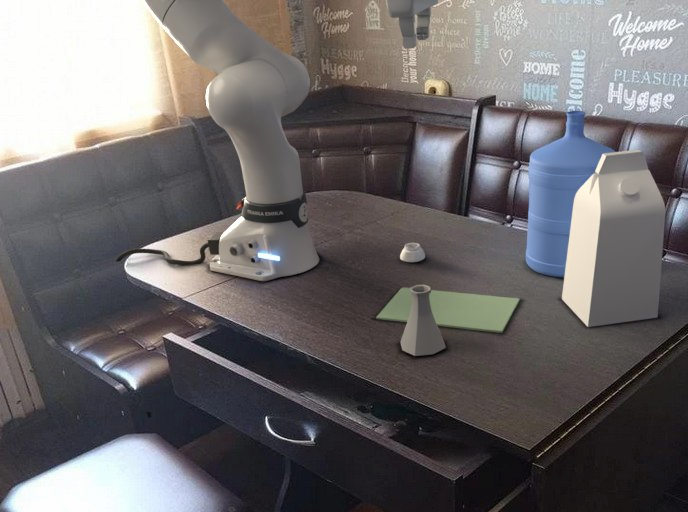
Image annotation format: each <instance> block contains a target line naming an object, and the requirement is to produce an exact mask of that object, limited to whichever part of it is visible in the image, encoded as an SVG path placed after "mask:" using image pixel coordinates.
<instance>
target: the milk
mask: <svg viewBox="0 0 688 512" xmlns="http://www.w3.org/2000/svg"><path fill="white" fill-rule="evenodd" d="M663 198H664V197H663V195H662V194H661V192H660V189H659V187H658V186H657V182H656V181H655V179H654V177H653V174H652V173H651V171H650V169H649V165H648V162H647V160H646V157H645V154H644V151H642V150H640V149H633V150H632V149H631V150H623V151H615V152H612V153H603V154H602V156H601V159H600V161H599V163H598V165H597V168H596V170H595V173H594V174H593V175H592V176H591V177H590V178H589V179H588V180H587V181H586V182H585V183H584V184H583V185H582V187H581V188H580V189H579V190H578V191H577V193H576V195H575V198H574V204H573V212H572V220H571V228H570V236H569V244H568V252H567V260H566V268H565V276H564V278H563V285H562V294H561V300H562V301H563V302H564V303H565V304H566V305H567V306H568V307H569V309H570V310H571V311H572V312H573V313H574V314H575V315H576V316H577V317H578V318H579V319H580V321H581V322H582V323H583V324H585V326H586V327H587V328H592V327H598V326H605V325H612V324H613V325H614V324H620V323H627V322H634V321H642V320H649V319H656V318H658V317H659V305H660V292H661V291H660V290H661V276H662V264H663V263H662V262H663V249H664V238H665V223H666V205H665V201H664V199H663Z"/></svg>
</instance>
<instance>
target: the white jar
mask: <svg viewBox="0 0 688 512" xmlns="http://www.w3.org/2000/svg"><path fill="white" fill-rule="evenodd" d="M403 247H404V248H403V249H402V250H401V252H400V255H399V259H400V260H401V261H403V262H406V263H418V262H421V261H423V260H424V259H425V258H426V253H425V251H424V249H423V248H422V247H421V245H420V243H418V242H407V243H405V244H404V246H403Z"/></svg>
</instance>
